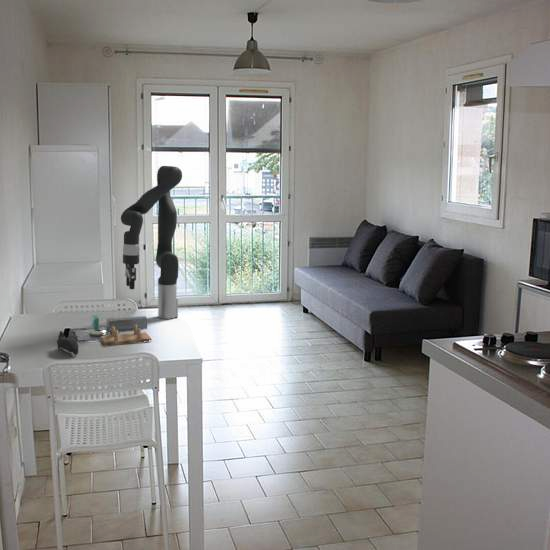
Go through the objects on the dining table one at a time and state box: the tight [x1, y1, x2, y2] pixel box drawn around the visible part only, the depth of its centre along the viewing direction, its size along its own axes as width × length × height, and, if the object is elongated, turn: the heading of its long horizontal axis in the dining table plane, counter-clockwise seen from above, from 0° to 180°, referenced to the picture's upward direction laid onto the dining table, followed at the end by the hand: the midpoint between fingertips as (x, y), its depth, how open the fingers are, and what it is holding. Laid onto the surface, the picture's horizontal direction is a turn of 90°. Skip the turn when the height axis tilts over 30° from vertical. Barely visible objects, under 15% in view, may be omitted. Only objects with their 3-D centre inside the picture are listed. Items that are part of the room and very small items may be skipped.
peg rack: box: [100, 325, 152, 347], centre depth 313 cm, size 20×11×6 cm, turn 113°
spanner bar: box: [106, 315, 148, 333], centre depth 333 cm, size 18×6×5 cm, turn 113°
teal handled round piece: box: [89, 314, 108, 336], centre depth 324 cm, size 8×14×6 cm, turn 23°
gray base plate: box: [77, 327, 111, 342], centre depth 322 cm, size 15×18×1 cm
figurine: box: [56, 330, 80, 358], centre depth 294 cm, size 8×10×15 cm
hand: (130, 287), depth 334 cm, fingers open, 8 cm apart
